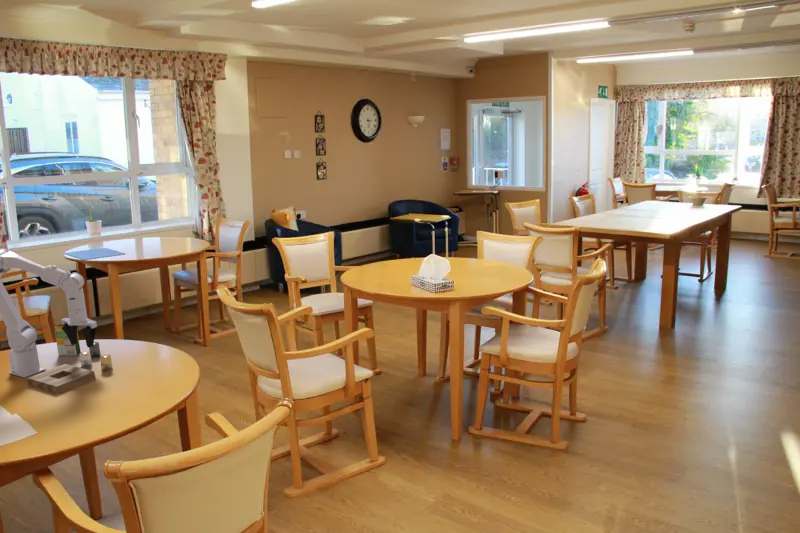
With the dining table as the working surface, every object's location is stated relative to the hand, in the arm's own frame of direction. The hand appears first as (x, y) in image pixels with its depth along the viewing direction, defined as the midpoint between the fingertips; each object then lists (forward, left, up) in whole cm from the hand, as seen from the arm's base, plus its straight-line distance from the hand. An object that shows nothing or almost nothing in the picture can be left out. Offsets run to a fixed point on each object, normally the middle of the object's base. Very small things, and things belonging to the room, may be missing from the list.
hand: (82, 345), depth 245 cm
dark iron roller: (-7, +9, -9) cm, 15 cm away
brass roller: (+9, +2, -9) cm, 12 cm away
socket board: (+4, -12, -8) cm, 15 cm away
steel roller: (-1, +1, -9) cm, 9 cm away
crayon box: (-18, +6, -9) cm, 21 cm away
